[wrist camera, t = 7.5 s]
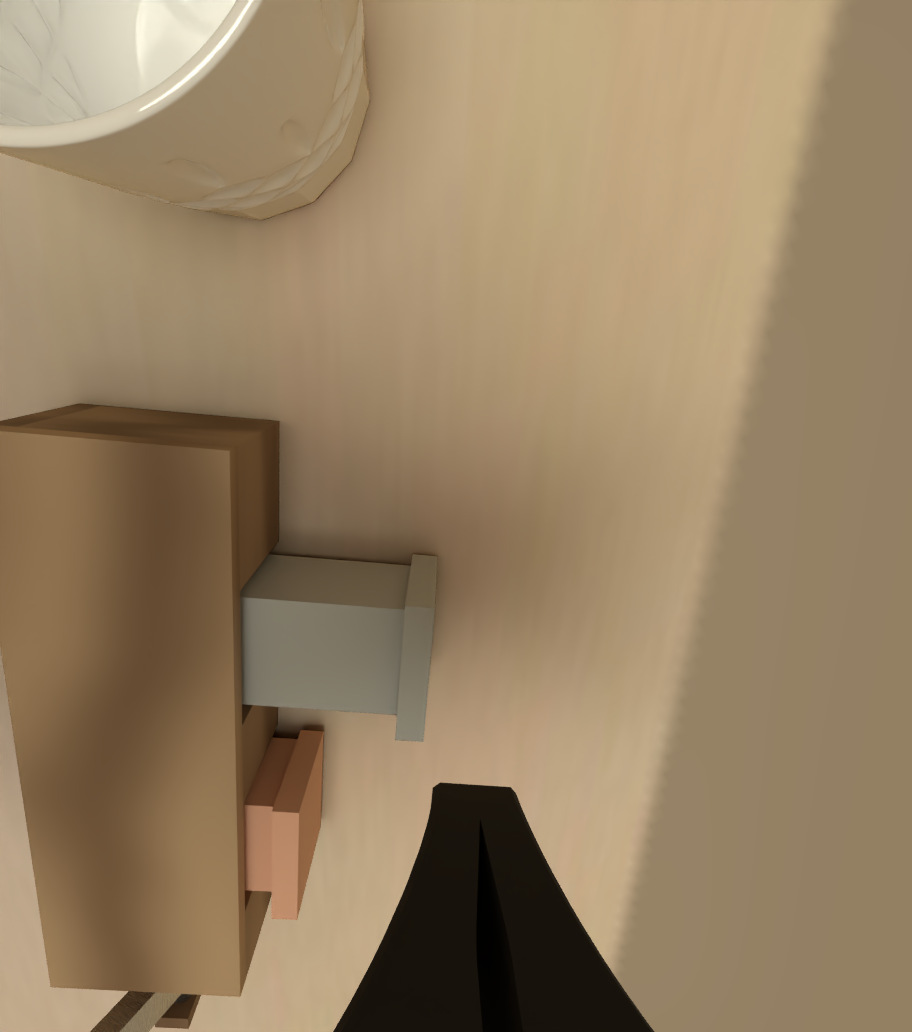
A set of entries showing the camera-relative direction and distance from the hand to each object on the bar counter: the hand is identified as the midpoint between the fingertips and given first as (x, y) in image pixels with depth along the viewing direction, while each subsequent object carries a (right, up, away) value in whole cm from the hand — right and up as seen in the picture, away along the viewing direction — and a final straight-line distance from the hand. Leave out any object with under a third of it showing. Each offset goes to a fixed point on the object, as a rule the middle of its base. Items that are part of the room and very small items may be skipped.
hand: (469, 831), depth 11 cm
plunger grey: (-5, +3, +10) cm, 11 cm away
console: (-10, -2, +11) cm, 15 cm away
